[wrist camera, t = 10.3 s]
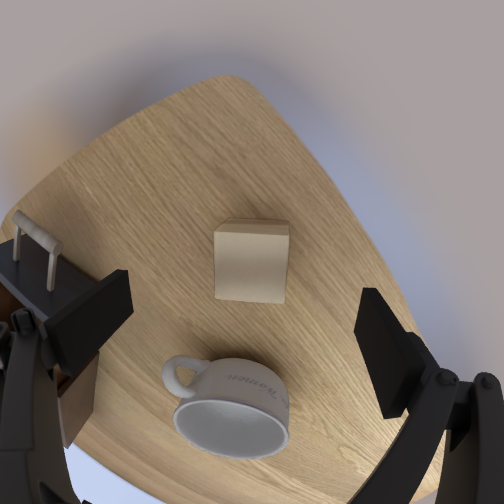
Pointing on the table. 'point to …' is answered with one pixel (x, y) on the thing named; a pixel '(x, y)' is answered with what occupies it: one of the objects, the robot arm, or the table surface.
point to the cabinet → (76, 400)
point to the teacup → (230, 407)
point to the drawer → (36, 276)
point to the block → (251, 260)
